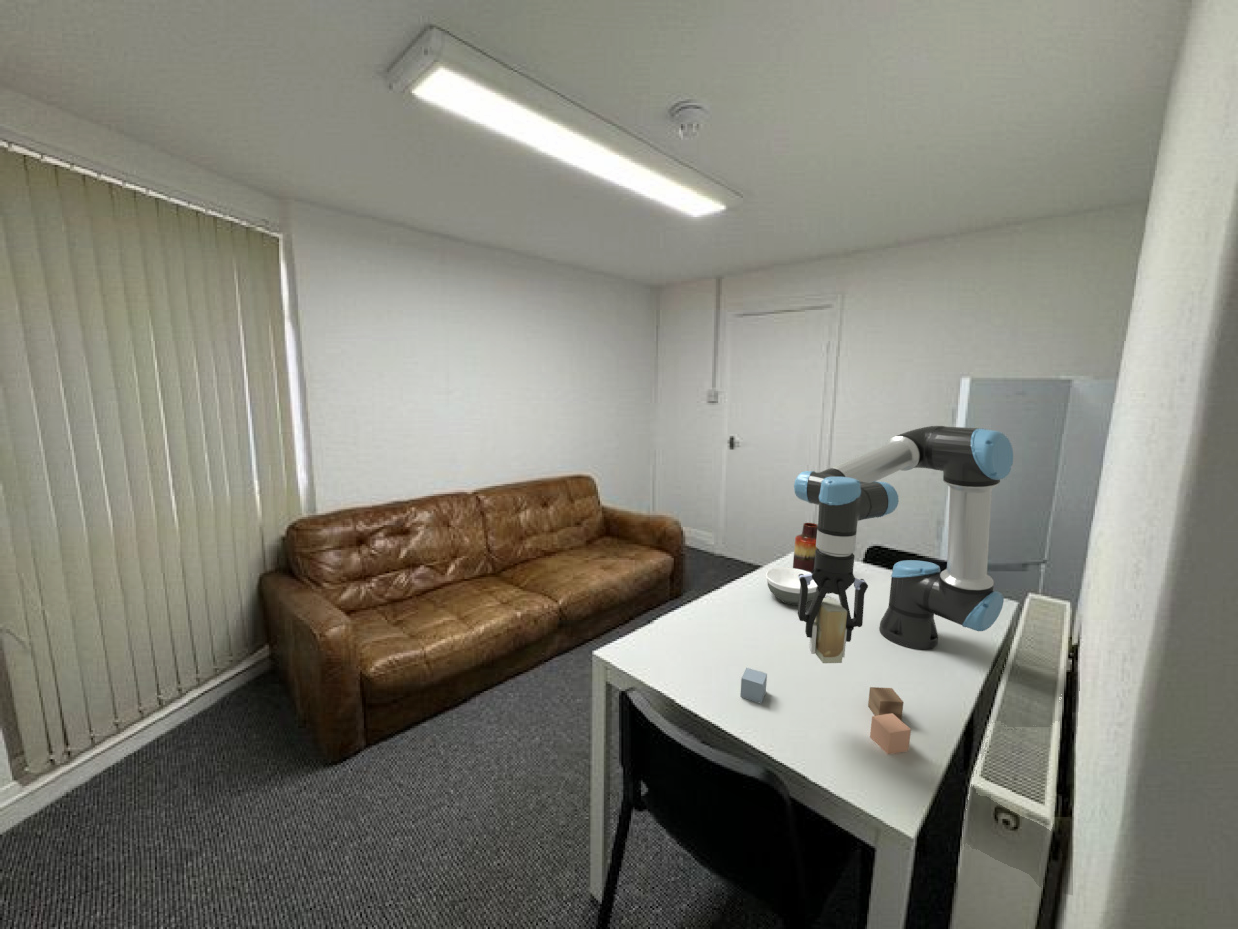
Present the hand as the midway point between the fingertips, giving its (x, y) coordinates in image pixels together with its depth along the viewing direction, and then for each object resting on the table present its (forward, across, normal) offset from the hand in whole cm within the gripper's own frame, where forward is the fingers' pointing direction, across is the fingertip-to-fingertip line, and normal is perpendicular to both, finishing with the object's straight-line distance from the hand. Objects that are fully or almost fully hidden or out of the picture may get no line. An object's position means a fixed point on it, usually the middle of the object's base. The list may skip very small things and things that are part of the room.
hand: (826, 652), depth 104 cm
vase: (+18, -11, -91) cm, 93 cm away
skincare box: (+1, 0, 0) cm, 1 cm away
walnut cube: (+17, -15, -6) cm, 23 cm away
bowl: (+17, -2, -64) cm, 66 cm away
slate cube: (+17, +14, -6) cm, 23 cm away
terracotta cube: (+17, -13, +4) cm, 21 cm away
